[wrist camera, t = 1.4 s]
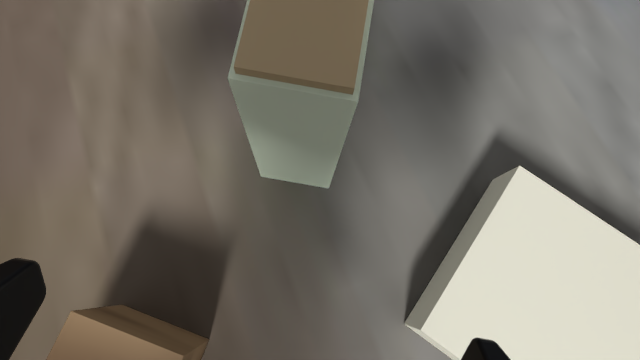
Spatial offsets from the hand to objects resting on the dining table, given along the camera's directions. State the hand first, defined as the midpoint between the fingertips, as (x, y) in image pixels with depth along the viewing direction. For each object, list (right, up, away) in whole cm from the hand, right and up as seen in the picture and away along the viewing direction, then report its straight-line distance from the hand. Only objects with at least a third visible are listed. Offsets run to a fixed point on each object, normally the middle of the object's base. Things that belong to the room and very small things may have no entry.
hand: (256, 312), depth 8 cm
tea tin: (0, +4, +16) cm, 16 cm away
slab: (+13, -4, +14) cm, 19 cm away
